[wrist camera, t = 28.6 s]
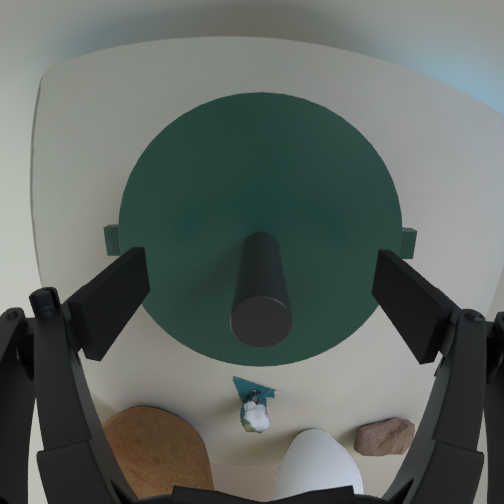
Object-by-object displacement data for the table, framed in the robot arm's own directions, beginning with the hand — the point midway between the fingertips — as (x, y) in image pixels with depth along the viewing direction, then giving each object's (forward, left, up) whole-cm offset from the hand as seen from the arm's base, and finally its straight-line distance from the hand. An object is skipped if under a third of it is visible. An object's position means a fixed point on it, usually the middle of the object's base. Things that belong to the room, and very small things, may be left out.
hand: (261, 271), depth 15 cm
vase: (+40, +10, -16) cm, 44 cm away
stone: (+42, +25, -16) cm, 52 cm away
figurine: (+28, +1, -16) cm, 33 cm away
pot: (+39, -18, -16) cm, 46 cm away
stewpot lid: (0, 0, -5) cm, 5 cm away
